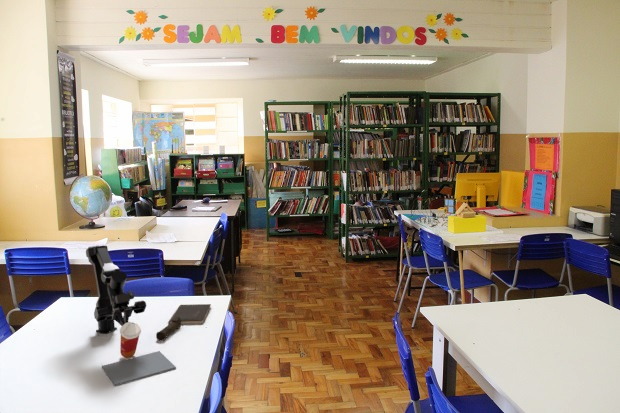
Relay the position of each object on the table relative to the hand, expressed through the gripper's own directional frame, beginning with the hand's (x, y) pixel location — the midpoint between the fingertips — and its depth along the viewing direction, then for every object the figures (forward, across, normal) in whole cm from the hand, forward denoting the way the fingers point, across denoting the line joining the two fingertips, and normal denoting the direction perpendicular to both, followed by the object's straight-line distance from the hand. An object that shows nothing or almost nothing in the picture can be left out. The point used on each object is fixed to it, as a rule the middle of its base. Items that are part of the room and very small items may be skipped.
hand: (126, 329), depth 196 cm
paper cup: (+7, 0, +7) cm, 10 cm away
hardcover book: (-12, +38, +28) cm, 49 cm away
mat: (+17, 0, -2) cm, 17 cm away
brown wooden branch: (-2, +22, +18) cm, 29 cm away
